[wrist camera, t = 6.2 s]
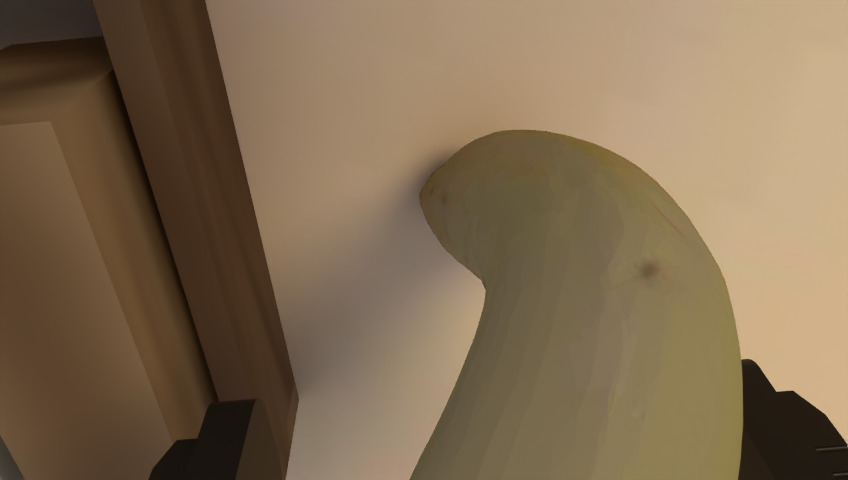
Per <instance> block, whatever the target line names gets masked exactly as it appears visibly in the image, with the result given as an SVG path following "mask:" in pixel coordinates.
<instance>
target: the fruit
mask: <svg viewBox="0 0 848 480" xmlns="http://www.w3.org/2000/svg"><path fill="white" fill-rule="evenodd" d="M419 198H420V204H421V207H422V209H423V212H424V215H425V218H426V220H427V222H428V224H429V226H430V228H431V229H432V231H433V232H434V234H435V235H436V237H437V239H438V240H439V242H440V243H441V244H442V246H443V247H444V248H445V249H446V250H447V251H448V252H449V253H450V254H451V255H452V256H453V257H454V258H455V259H456V260H457V261H458V262H460V263H461V264H462V265H464V266H465V267H466V268H468V269H469V270H470V271H471V272H472V273H473V274H474V275H476V276H477V277H478V278H479V279H481V281H482V283H483V285H484V287H485V289H486V294H485V302H484V307H483V311H482V315H481V318H480V321H479V325H478V328H477V331H476V335H475V338H474V340H473V343H472V345H471V347H470V350H469V352H468V355H467V357H466V360H465V363H464V365H463V368H462V370H461V373H460V375H459V377H458V380H457V382H456V384H455V387H454V389H453V391H452V394H451V396H450V398H449V400H448V402H447V405H446V407H445V409H444V411H443V413H442V415H441V417H440V419H439V421H438V423H437V426H436V428H435V430H434V432H433V434H432V436H431V438H430V440H429V442H428V443H427V445H426V447H425V449H424V451H423V453H422V455H421V457H420V459H419V461H418V463H417V465H416V467H415V469H414V471H413V473H412V476H411V478H410V480H738V475H739V467H740V460H741V445H742V432H743V378H742V362H741V355H740V347H739V340H738V335H737V329H736V324H735V318H734V313H733V309H732V305H731V301H730V297H729V293H728V290H727V286H726V282H725V279H724V277H723V275H722V273H721V270H720V268H719V266H718V264H717V263H716V261H715V259H714V257H713V256H712V254H711V252H710V251H709V249H708V247H707V246H706V244H705V242H704V241H703V239H702V238H701V236H700V235H699V233H698V232H697V230H696V228H695V227H694V225H693V224H692V222H691V221H690V219H689V218H688V217H687V215H686V214H685V213H684V211H683V210H682V209H681V208H680V207H679V206H678V205H677V203H676V202H675V201H674V200H673V198H672V197H671V196H670V195H669V194H668V193H667V192H666V191H665V190H664V189H663V188H662V187H661V186H660V185H659V183H658V182H656V181H655V180H654V179H653V178H652V177H650V176H649V175H648V174H647V173H646V172H644V171H643V170H642V169H641V168H639V167H638V166H636V165H635V164H633V163H632V162H630V161H628V160H627V159H625V158H624V157H622V156H620V155H618V154H616V153H614V152H612V151H610V150H608V149H605V148H603V147H601V146H598V145H596V144H593V143H590V142H587V141H584V140H580V139H577V138H573V137H570V136H566V135H562V134H556V133H551V132H547V131H536V130H509V131H499V132H495V133H492V134H489V135H487V136H484V137H481V138H479V139H477V140H474V141H472V142H471V143H469V144H467V145H466V146H464V147H463V148H462V149H460V150H459V151H458V152H456V153H455V154H454V155H453V156H452V157H451V158H450V159H449V160H448V162H447V163H446V164H445V165H444V166H442V167H441V168H439V169H438V170H437V171H436V172H435V173H434V174H433V175H432V176H431V177H430V179H429V180H428V182H427V184H426V185H425V187H424V188H423V189H422V190H421V192H420V197H419Z"/></svg>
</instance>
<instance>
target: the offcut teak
mask: <svg viewBox="0 0 848 480" xmlns="http://www.w3.org/2000/svg"><path fill="white" fill-rule="evenodd" d="M212 402H219V399H218V396H217V393H216V390H215V387H214V383H213V380H212V377H211V374H210V371H209V368H208V364H207V361H206V358H205V355H204V352H203V349H202V346H201V342H200V339H199V336H198V333H197V330H196V327H195V323H194V320H193V317H192V314H191V311H190V308H189V304H188V301H187V298H186V295H185V292H184V289H183V286H182V282H181V279H180V276H179V273H178V270H177V267H176V263H175V260H174V257H173V254H172V251H171V248H170V245H169V241H168V238H167V235H166V232H165V229H164V226H163V222H162V219H161V216H160V213H159V210H158V207H157V203H156V200H155V197H154V194H153V191H152V188H151V185H150V181H149V178H148V175H147V172H146V169H145V166H144V162H143V159H142V156H141V153H140V150H139V147H138V143H137V140H136V137H135V134H134V131H133V128H132V125H131V121H130V118H129V115H128V112H127V109H126V106H125V102H124V99H123V96H122V93H121V90H120V87H119V83H118V80H117V77H116V74H115V71H114V68H113V65H112V61H111V58H110V55H109V52H108V49H107V46H106V42H105V39H104V36H101V37H90V38H79V39H68V40H57V41H46V42H35V43H24V44H13V45H10V46H8V47H6V48H4V49H3V50H1V51H0V436H1V437H2V439H3V441H4V443H5V445H6V446H7V448H8V450H9V452H10V453H11V455H12V457H13V459H14V461H15V462H16V464H17V466H18V468H19V470H20V471H21V473H22V475H23V477H24V479H25V480H148V479H149V476H150V474H151V471H152V469H153V467H154V466H155V465H156V464H157V463H158V461H159V460H160V459H161V458H162V457H163V456H164V454H165V453H166V452H167V451H168V450H169V448H170V447H171V446H172V445H173V444H174V443H175V441H176V440H182V439H194V438H198V435H199V432H200V429H201V426H202V423H203V419H204V416H205V413H206V411H207V408H208V406H209V405H210V404H211V403H212Z"/></svg>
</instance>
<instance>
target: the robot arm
mask: <svg viewBox="0 0 848 480" xmlns="http://www.w3.org/2000/svg"><path fill="white" fill-rule="evenodd" d="M741 362H742V378H743V432H742V445H741V460H740V467H739V475H738V480H848V447H847V445H848V444H847V443H846V442H845V440H844V439H843V438H842V436H841V435H840V434H839V432H838V431H837V430H836V428H835V427H834V426H833V424H832V423H831V422H830V420H829V419H828V417H827V416H826V415H825V414H824V413H822V412H821V411H820V410H818V409H817V408H816V407H814V406H813V405H812V404H810V403H809V402H808V401H806V400H805V399H803V398H802V397H801V396H799V395H798V394H797V393H795V392H794V391H782V392H776V391H775V389H774V388H773V386H772V385H771V383H770V382H769V381H768V379H767V378H766V376H765V375H764V373H763V372H762V370H761V369H760V367H759V366H758V365H757V364H756V363H755V362H754V361H752V360H750V359H743V360H741ZM148 480H282V470H281V464H280V460H279V457H278V453H277V449H276V446H275V442H274V438H273V434H272V431H271V427H270V423H269V420H268V416H267V412H266V408H265V405H264V403H263V401H262V400H261V399H260V398H256V399H244V400H232V401H220V402H212V403H211V404H210V405H209V406H208V408H207V411H206V413H205V416H204V419H203V423H202V426H201V429H200V432H199V435H198V438H194V439H182V440H176V441H175V443H174V444H173V445H172V446H171V447H170V448H169V450H168V451H167V452H166V453H165V454H164V456H163V457H162V458H161V459H160V460H159V461H158V463H157V464H156V465H155V466H154V467H153V469H152V471H151V474H150V476H149V479H148Z"/></svg>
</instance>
